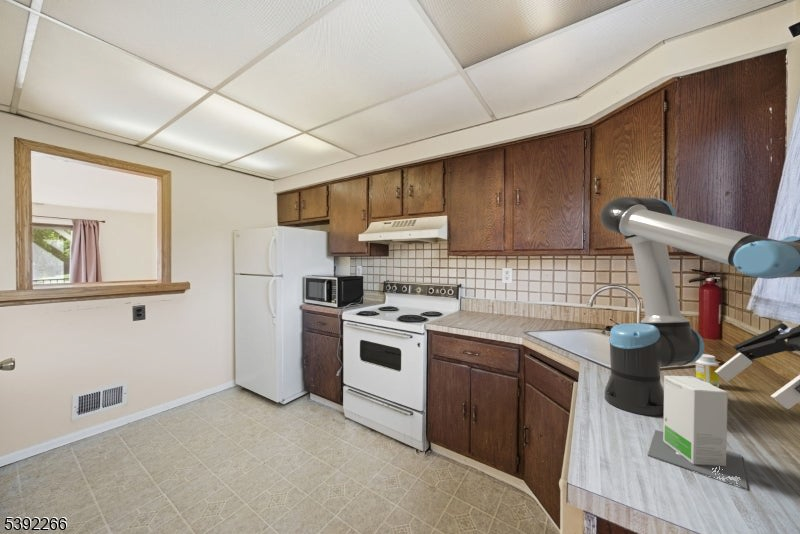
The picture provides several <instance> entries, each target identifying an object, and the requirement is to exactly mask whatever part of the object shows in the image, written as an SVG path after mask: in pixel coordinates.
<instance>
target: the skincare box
mask: <svg viewBox="0 0 800 534" xmlns="http://www.w3.org/2000/svg"><path fill="white" fill-rule="evenodd" d="M663 377H664V378H663V380H664V381H663V390H664V415H663V428H662V432H663V441H664V443H666V444H667V445H669V446H670V447H671V448H672V449H674V450H675V451H676V452H678V453H679V454H680V455H682V456H683V457H684V458H686V459H687V460H688V461H689V462H691V463H692V464H694V465H711V466H726V450H727V441H728V440H727V438H728V436H727V435H728V433H727V432H728V431H727V428H728V393H729V392H728V391H727V390H724V389H721V388H719V387H715V386H713V385H712V384H710V383H707V382H704V381H702V380H699V379H697V378H696V376H691V375H689V376H688V375H687V376H686V375H663Z"/></svg>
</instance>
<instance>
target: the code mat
mask: <svg viewBox="0 0 800 534" xmlns="http://www.w3.org/2000/svg"><path fill="white" fill-rule="evenodd" d="M647 457H650V458H652V459H656V460H659V461H661V462H665V463H668V464H671V465H673V466H676V467H679V468H682V469H684V468H686V469H685V470H687V469H690V470H693V471H695V472H694V473H696V472H698V473H697V474H699V473H701V474H700V475H702V474H704V475H703V476H705V475H707V476H706V477H708V476H711V477H715V478H717V477H719V476H720V478H722V477H723V476H724V478H726V477H728V476H730V477H732V476H733V477H735V476H737V477H740V479H741V480H739V479H738V480H739V481H737V483H738V484H736V481H734V480H730V479H729V478H727V479H728V480H727V479H725V481H726V482H728V483H732V484H735V485H738V486H740V487H742V488H744V489H743V490H745V489H747V490H746V491H748V490H749V489H748V486H747V485H748V483H747V478H746V473H745V467H744V462H743V457H742V454H741V453H736V452H734V451H729V450H727V449H726V466H720V470H719V466H711V465H694V464H692V463H691V462H689V461H688V460H687V459H686V458H684V457H683V456H682V455H680V454H679V453H678V452H676V451H675V450H674V449H672V448H671V447H670V446H669V445H667V444H666V443H664V441H663V430H658V429H655V431H654V434H653V436H652V439H651V442H650V446H649V450H648V452H647ZM716 467H717V469H716V472H713V471H714V470H715V468H716ZM712 468H714V469H713V470H712ZM722 469H723V470H722ZM690 470H689V471H690ZM718 470H719V472H718V473H717V471H718ZM693 471H692V472H693ZM712 472H713V473H712ZM715 473H716V475H715ZM719 473H720V474H719ZM718 474H719V475H718ZM722 474H723V475H722ZM711 477H710V478H711ZM718 479H719V478H718ZM721 480H722V479H721ZM728 483H727V484H728ZM740 487H739V488H740ZM742 488H741V489H742Z"/></svg>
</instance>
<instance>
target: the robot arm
mask: <svg viewBox="0 0 800 534" xmlns="http://www.w3.org/2000/svg"><path fill="white" fill-rule="evenodd" d="M599 215H600V216H599V217H600V222H601V224H602V225H603V227H604V228H605V229H607V230H608V231H610V232H613V233H616V234H620V235H623V236H624V239H625V243H627V244H628V245H629V244H630V245H631V247H632V251H633V257H634V263H635V267H636V274H637V279H638V284H639V288H640V290H639V291H640V294H641V299H642V305H643V312H644V315H645V316H644V317H643V318H642V319H641V320H640V323H639V322H634V323H629V322H628V323H620V324H616V325H614V326H613V327H612V328H610V332H609V333H610V335H609V354H610V355H609V356H610V359H609V360H610V376H609V377H608V380H607V383H606V385H605V387H604V390H603V391H604V399H605V401H606V402H608V404H610V405H612V406H614V407H616V408H618V409H620V410H624V411H627V412H630V413H633V414H634V413H635V414H637V415H638V414H640V415H644V416H654V417H657V416H664V386H662V383H661V368H664V367H674V366H679V367H680V366H681V367H682V366H686V365H689V364H692V363H696V361H697V360H698V359H699V358H700V357H701V356H702V355H703V354H704V352H705V342H704V339H703V338H702V336H701V334H700V333H698V332H697V331H696V330H695V329H693V328H692V327H691V323H690V320H689V318H687V317H685V316H683V314H682V313H681V308H680V304H679V298H678V295H677V294H678V293H677V287H676V283H675V279H674V275H673V274H674V273H673V270H672V269H673V268H672V265H671V261H670V254H669V248H668V247H672V248H674V249H675V248H676V249H678V250H682V251H685V252H688V253H691V254H695V255H696V256H700V257H704V258H707V259H709V260H712V261H713V260H714V261H715V262H719V263H721V264H722V263H723V264H725V265H728V266H731V267H734V268H736V269H737V270H738V271H739V272H741V273H742V274H744V275H745V276H749V277H753V278H759V279H764V280H765V279H767V280H769V279H772V280H774V279H781V278H800V236H786V237H783V239H779V240H778V239H774V238H770V237H764V236H760V235H756V234H752V233H747V232H743V231H739V230H735V229H731V228H730V229H729V228H725V227H721V226H717V225H714V224H709V223H705V222H700V221H695V220H691V219H687V218H682V217H678V216H677V214H676V210H675V208H674V207H673V205H672V204H671V203H670V202H668V201H667V200H664V199H660V198H657V197H656V198H655V197H634V196H632V197H631V196H620V197H616V198H614V199H612V200H610V201H608V202H607V203H606V204H605V205H603V207H602V209H601V212H600V214H599ZM786 340H787V341H786ZM732 348H733V349H734V350H735V351H736V354H734V355H733V356H732V357H730V358H729V359H728V360H727V361H726V362H724V364H722V365H720V366H719V368H718V369H717V370H716V371H714V372H716V373H717V374H718V375H719V378H721V379H723V380H724V381H725V382H729V381H731V380H732V379H733V378H734V377H736V376H737V375H739V374H740V373H741V372H743V371H744V370H745V369H747V368H748V367H749V366H751V365H752V364H753V363H754V360H755V359H760V358H763V357H767V356H771V355H775V354H779V353H783V352H800V324H798V325H797V326H795V327H790V326H788V325H786V323H782V322H781V323H778V324H777V325H775V326H774V327H773V328H771V329H769V330H767V331H765V332H761V333H760V334H758V335H755V336H753V337H751V338H748V339H746V340H743V341H741V342H739V343H736V344H735V345H733V346H732ZM770 397H771V398H772V399H774V401H776V402H777V403H778V404H779V405H780V406H782V407H783V408H785V409H787V410H789V409H791V408H793V407H794V406H795V405H797V404H798V403H799V402H800V374H798V375H797V376H796V377H794V378H793V379H791V380H790V381H789V382H788V383H786V384H785V385H784V386H782V387H780V388H779V389H778V390H776V391H774V393H772V394H771V395H770Z"/></svg>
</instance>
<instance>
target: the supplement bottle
mask: <svg viewBox="0 0 800 534" xmlns="http://www.w3.org/2000/svg"><path fill="white" fill-rule="evenodd" d="M719 365H720V364H719V362H717V361H716V356H714V355H711V354H707V353H703V355H702V356H701V357H700V358H699V359H698V360H697V361H695V378H697V379H699V380H702V381H704V382H707V383H710V384H712V385H713V386H715V387H717V388H719V387H720V376H719V375H718V374H717V373H716V372H714V371H716V370H717V369H718V368H720V366H719Z"/></svg>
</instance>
